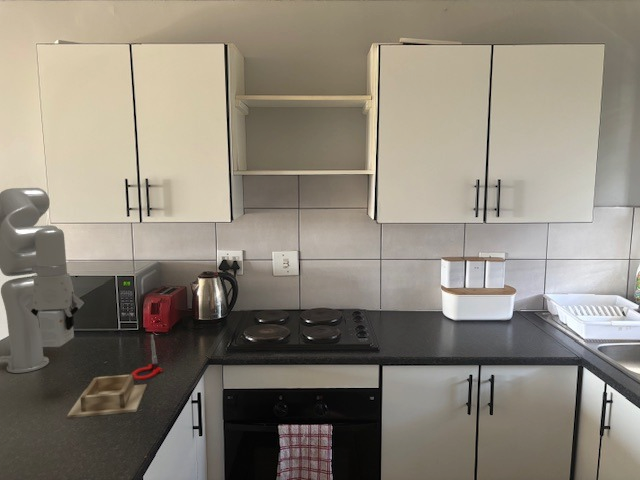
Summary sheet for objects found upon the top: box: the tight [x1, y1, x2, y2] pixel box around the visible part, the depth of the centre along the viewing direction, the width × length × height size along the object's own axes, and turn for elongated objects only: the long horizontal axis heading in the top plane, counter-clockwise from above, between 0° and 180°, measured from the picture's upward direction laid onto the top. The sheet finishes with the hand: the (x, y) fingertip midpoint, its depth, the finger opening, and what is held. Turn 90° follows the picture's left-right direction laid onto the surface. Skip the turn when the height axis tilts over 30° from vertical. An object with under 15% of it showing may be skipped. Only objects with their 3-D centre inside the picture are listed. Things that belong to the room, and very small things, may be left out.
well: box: [66, 373, 147, 419], centre depth 136 cm, size 18×16×5 cm
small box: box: [38, 305, 75, 348], centre depth 138 cm, size 8×6×10 cm
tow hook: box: [130, 334, 164, 381], centre depth 154 cm, size 8×13×9 cm
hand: (57, 328), depth 138 cm, fingers closed on small box, 6 cm apart
